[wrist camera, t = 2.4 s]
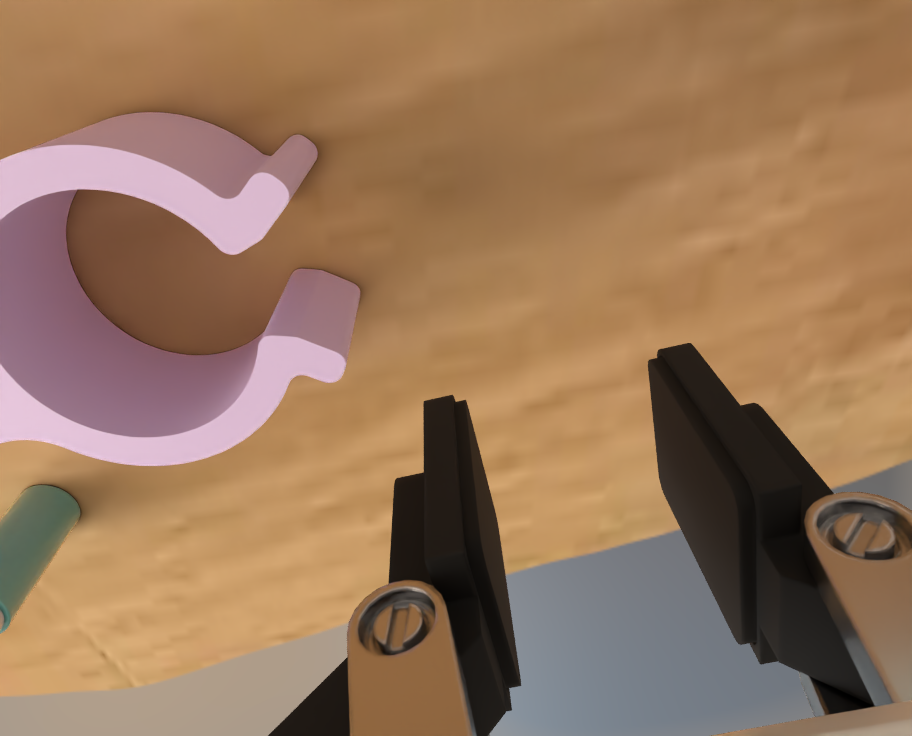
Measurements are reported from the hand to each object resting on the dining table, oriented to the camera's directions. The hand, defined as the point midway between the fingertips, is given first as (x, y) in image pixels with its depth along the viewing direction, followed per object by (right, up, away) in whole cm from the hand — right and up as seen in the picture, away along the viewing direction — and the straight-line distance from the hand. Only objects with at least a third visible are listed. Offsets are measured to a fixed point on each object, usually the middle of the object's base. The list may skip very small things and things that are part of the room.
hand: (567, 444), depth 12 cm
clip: (-17, +6, +18) cm, 25 cm away
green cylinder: (-24, -6, +24) cm, 35 cm away
